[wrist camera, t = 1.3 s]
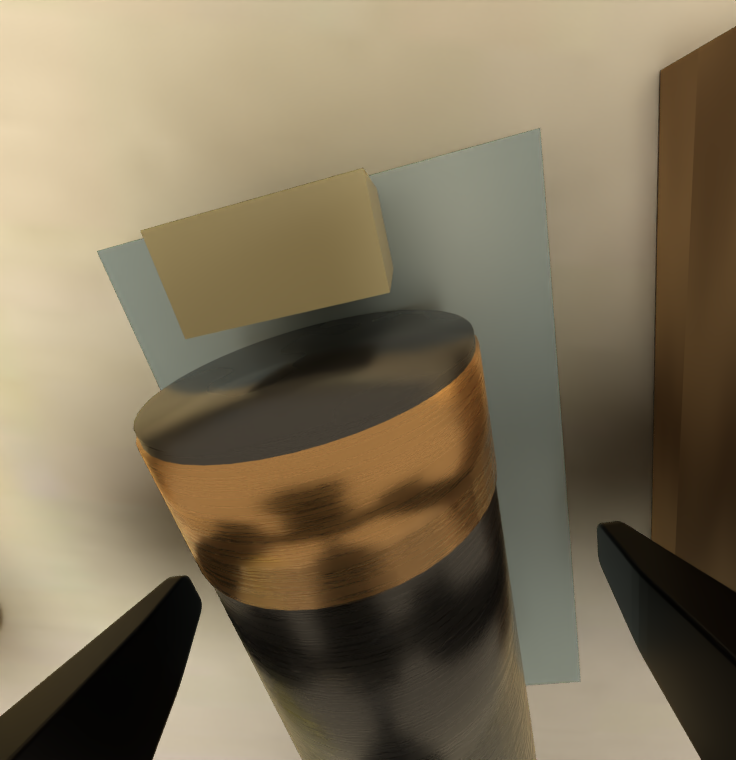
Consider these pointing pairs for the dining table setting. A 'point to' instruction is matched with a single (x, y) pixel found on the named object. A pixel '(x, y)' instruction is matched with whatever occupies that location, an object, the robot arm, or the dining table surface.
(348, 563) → the battery cell
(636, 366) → the dining table surface
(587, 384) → the dining table surface
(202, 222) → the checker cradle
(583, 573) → the dining table surface
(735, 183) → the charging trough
